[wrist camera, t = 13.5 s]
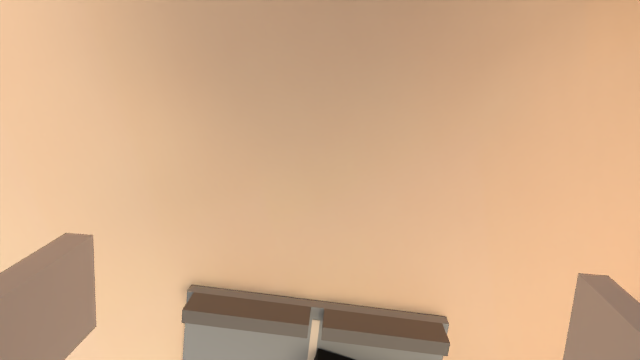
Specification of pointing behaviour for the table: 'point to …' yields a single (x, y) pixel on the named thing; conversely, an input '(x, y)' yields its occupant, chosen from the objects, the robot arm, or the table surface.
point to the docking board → (303, 329)
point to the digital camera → (328, 356)
